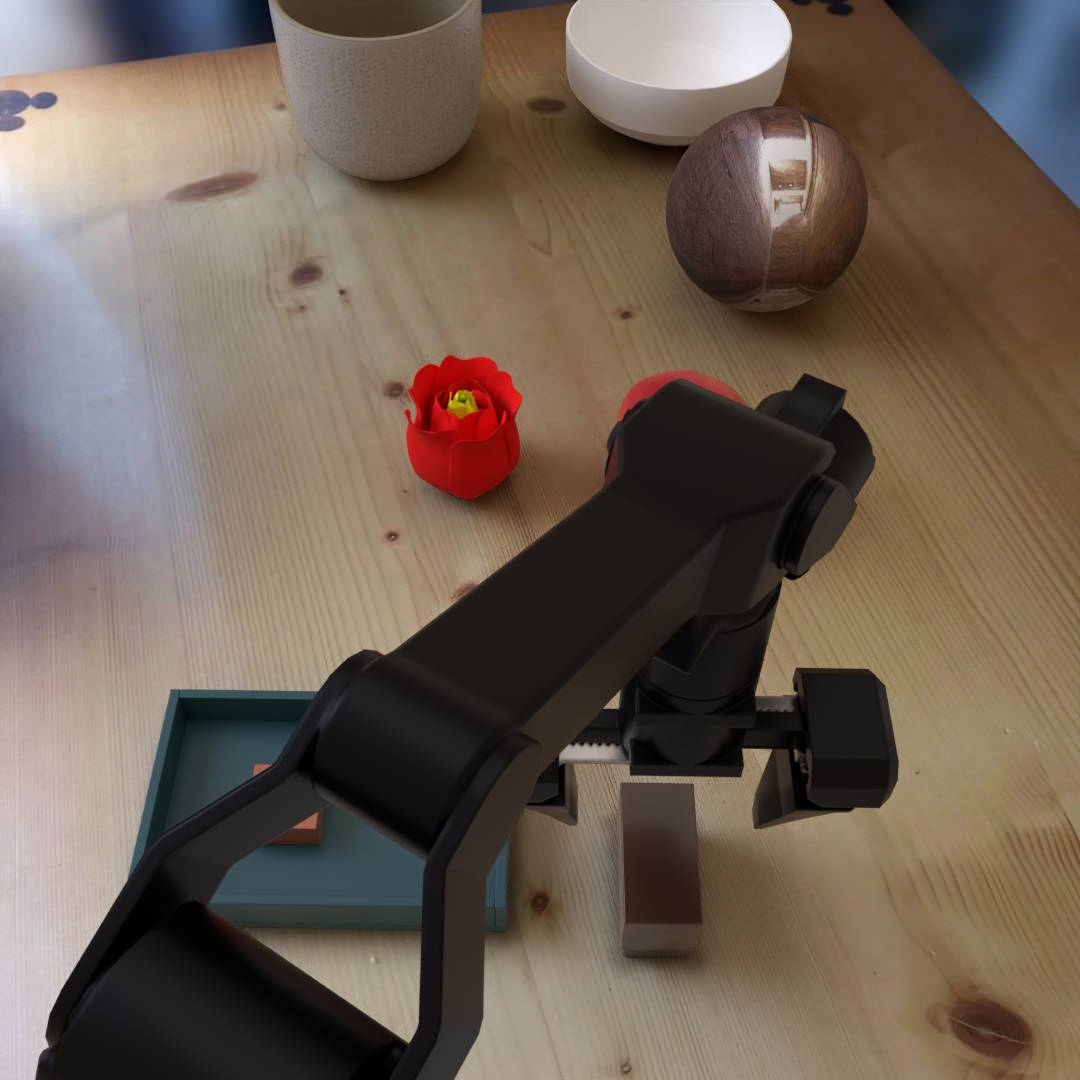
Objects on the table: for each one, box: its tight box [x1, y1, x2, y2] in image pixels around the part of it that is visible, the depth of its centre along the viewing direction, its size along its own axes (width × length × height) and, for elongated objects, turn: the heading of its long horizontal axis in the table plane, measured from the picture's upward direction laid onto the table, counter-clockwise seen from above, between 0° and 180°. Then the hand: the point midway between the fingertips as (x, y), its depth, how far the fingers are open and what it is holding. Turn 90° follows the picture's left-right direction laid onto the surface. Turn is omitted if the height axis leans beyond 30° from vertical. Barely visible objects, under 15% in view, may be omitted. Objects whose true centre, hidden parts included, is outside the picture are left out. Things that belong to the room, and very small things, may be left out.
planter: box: [268, 0, 483, 182], centre depth 110 cm, size 17×17×15 cm
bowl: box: [565, 0, 793, 147], centre depth 116 cm, size 20×20×8 cm
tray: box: [127, 688, 511, 932], centre depth 74 cm, size 20×13×3 cm, turn 89°
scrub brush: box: [616, 781, 704, 958], centre depth 70 cm, size 4×8×5 cm, turn 179°
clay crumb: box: [253, 764, 325, 845], centre depth 74 cm, size 4×4×2 cm
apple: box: [614, 369, 750, 426], centre depth 86 cm, size 10×10×10 cm
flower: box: [404, 354, 523, 500], centre depth 88 cm, size 8×8×8 cm
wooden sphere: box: [665, 105, 869, 313], centre depth 98 cm, size 15×15×15 cm
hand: (664, 818), depth 65 cm, fingers open, 9 cm apart
